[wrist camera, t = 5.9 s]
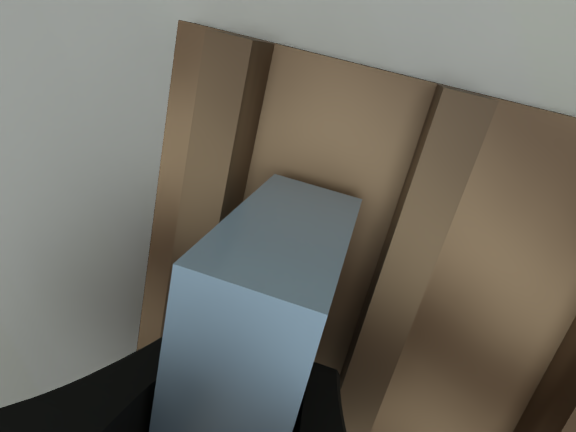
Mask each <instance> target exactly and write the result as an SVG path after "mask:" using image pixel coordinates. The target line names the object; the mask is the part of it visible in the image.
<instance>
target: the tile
mask: <svg viewBox="0 0 576 432" xmlns="http://www.w3.org/2000/svg"><path fill="white" fill-rule="evenodd" d="M361 202H362V199H360V198H356V197H353V196H349V195H346V194H342V193H339V192H336V191H332V190H329V189H325V188H322V187H318V186H315V185H311V184H308V183H305V182H301V181H298V180H294V179H291V178H287V177H284V176H281V175H277V174H274V175H273V176H272V177H270V178H269V179H268V180H267V181H266V182H265V183H264V184H263V185H261V186H260V187H259V188H258V189H257V190H256V191H255V192H253V193H252V194H251V195H250V196H249V197H248V198H247V199H246V200H244V201H243V202H242V203H241V204H240V205H239V206H238V207H237V208H235V209H234V210H233V211H232V212H231V213H230V214H229V215H228V216H226V217H225V218H224V219H223V220H222V221H221V222H220V223H219V224H217V225H216V226H215V227H214V228H213V229H212V230H211V231H210V232H208V233H207V234H206V235H205V236H204V237H203V238H202V239H201V240H199V241H198V242H197V243H196V244H195V245H194V246H193V247H191V248H190V249H189V250H188V251H187V252H186V253H185V254H184V255H182V256H181V257H180V258H179V259H178V260H177V261H176V262H175V263H173V268H172V275H171V282H170V289H169V296H168V303H167V310H166V317H165V323H164V330H163V337H162V344H161V351H160V358H159V365H158V372H157V379H156V386H155V393H154V400H153V407H152V413H151V420H150V427H149V432H292V431H293V428H294V425H295V422H296V418H297V415H298V412H299V408H300V405H301V402H302V399H303V395H304V392H305V389H306V385H307V382H308V379H309V376H310V372H311V369H312V366H313V362H314V359H315V356H316V353H317V349H318V346H319V343H320V339H321V336H322V333H323V330H324V326H325V323H326V320H327V317H328V313H329V310H330V306H331V303H332V300H333V296H334V293H335V290H336V286H337V283H338V280H339V276H340V273H341V269H342V266H343V263H344V259H345V256H346V253H347V249H348V246H349V243H350V239H351V236H352V232H353V229H354V226H355V222H356V219H357V216H358V212H359V209H360V205H361Z"/></svg>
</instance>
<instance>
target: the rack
mask: <svg viewBox="0 0 576 432" xmlns="http://www.w3.org/2000/svg"><path fill="white" fill-rule="evenodd" d="M274 174H277V175H281V176H284V177H287V178H291V179H294V180H298V181H301V182H305V183H308V184H311V185H315V186H318V187H322V188H325V189H329V190H332V191H336V192H339V193H342V194H346V195H349V196H353V197H356V198H360V199H362V202H361V205H360V209H359V212H358V216H357V219H356V222H355V226H354V229H353V232H352V236H351V239H350V243H349V246H348V249H347V253H346V256H345V259H344V263H343V266H342V269H341V273H340V276H339V280H338V283H337V286H336V290H335V293H334V296H333V300H332V303H331V306H330V310H329V313H328V317H327V320H326V323H325V326H324V330H323V333H322V336H321V339H320V343H319V346H318V349H317V353H316V356H315V359H314V362H316V363H319V364H322V365H325V366H328V367H331V368H334V369H337V371H338V373H339V374H340V394H341V403H342V410H343V416H344V422H345V427H346V432H576V117H572V116H568V115H564V114H560V113H556V112H552V111H548V110H544V109H540V108H536V107H532V106H528V105H524V104H520V103H516V102H512V101H508V100H503V99H499V98H495V97H491V96H487V95H483V94H479V93H475V92H471V91H467V90H463V89H459V88H455V87H451V86H447V85H443V84H439V83H435V82H431V81H426V80H422V79H418V78H414V77H410V76H406V75H402V74H398V73H394V72H390V71H386V70H382V69H378V68H374V67H370V66H366V65H362V64H358V63H354V62H350V61H345V60H341V59H337V58H333V57H329V56H325V55H321V54H317V53H313V52H309V51H305V50H301V49H297V48H293V47H289V46H285V45H281V44H277V43H273V42H268V41H264V40H260V39H256V38H252V37H248V36H244V35H240V34H236V33H232V32H228V31H224V30H220V29H216V28H212V27H208V26H204V25H200V24H196V23H191V22H186V21H181V20H179V21H178V29H177V37H176V44H175V52H174V60H173V68H172V76H171V84H170V92H169V100H168V108H167V115H166V123H165V131H164V139H163V147H162V155H161V163H160V171H159V178H158V186H157V194H156V202H155V210H154V218H153V226H152V234H151V241H150V249H149V257H148V265H147V273H146V281H145V289H144V297H143V304H142V312H141V320H140V328H139V336H138V344H137V350H139V349H141V348H143V347H145V346H147V345H148V344H150V343H152V342H154V341H155V340H157V339H159V338H161V337H162V336H163V330H164V323H165V317H166V310H167V303H168V296H169V289H170V282H171V275H172V268H173V263H175V262H176V261H177V260H178V259H179V258H180V257H181V256H182V255H184V254H185V253H186V252H187V251H188V250H189V249H190V248H191V247H193V246H194V245H195V244H196V243H197V242H198V241H199V240H201V239H202V238H203V237H204V236H205V235H206V234H207V233H208V232H210V231H211V230H212V229H213V228H214V227H215V226H216V225H217V224H219V223H220V222H221V221H222V220H223V219H224V218H225V217H226V216H228V215H229V214H230V213H231V212H232V211H233V210H234V209H235V208H237V207H238V206H239V205H240V204H241V203H242V202H243V201H244V200H246V199H247V198H248V197H249V196H250V195H251V194H252V193H253V192H255V191H256V190H257V189H258V188H259V187H260V186H261V185H263V184H264V183H265V182H266V181H267V180H268V179H269V178H270V177H272V176H273V175H274Z"/></svg>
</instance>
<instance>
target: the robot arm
mask: <svg viewBox="0 0 576 432" xmlns="http://www.w3.org/2000/svg"><path fill="white" fill-rule="evenodd" d="M162 337H163V336H162ZM162 337H161V338H159V339H157V340H155V341H154V342H152V343H150V344H148V345H147V346H145V347H143V348H141V349H139V350H137V351H136V352H134V353H132V354H130V355H128V356H126V357H125V358H123V359H121V360H119V361H117V362H115V363H113V364H111V365H109V366H107V367H104V368H102V369H100V370H98V371H96V372H94V373H92V374H90V375H88V376H86V377H84V378H81V379H79V380H77V381H74V382H72V383H70V384H67V385H65V386H63V387H60V388H57V389H55V390H52V391H50V392H47V393H45V394H42V395H39V396H36V397H34V398H31V399H28V400H24V401H21V402H18V403H15V404H12V405H9V406H6V407H2V408H0V432H149V427H150V420H151V413H152V407H153V400H154V393H155V386H156V379H157V372H158V365H159V358H160V351H161V344H162ZM292 432H346V427H345V422H344V416H343V410H342V403H341V394H340V374H339V373H338V371H337V369H334V368H331V367H328V366H325V365H322V364H319V363H316V362H313V366H312V369H311V372H310V376H309V379H308V382H307V385H306V389H305V392H304V395H303V399H302V402H301V405H300V408H299V412H298V415H297V418H296V422H295V425H294V428H293V431H292Z"/></svg>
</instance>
